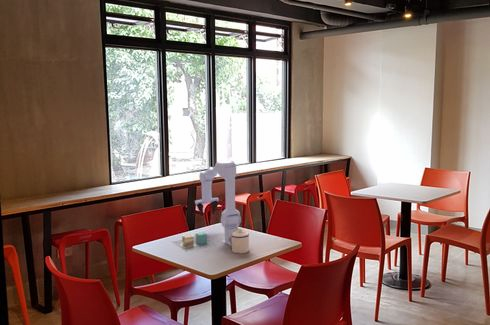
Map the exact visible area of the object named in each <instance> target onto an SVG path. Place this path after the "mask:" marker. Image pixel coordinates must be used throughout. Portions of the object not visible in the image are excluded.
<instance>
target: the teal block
mask: <svg viewBox="0 0 490 325" xmlns="http://www.w3.org/2000/svg"><path fill="white" fill-rule="evenodd" d="M195 237H196V242H197V243H198V244H203V243H207V240H208V233H206V232H204V231H201V232H195Z"/></svg>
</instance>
